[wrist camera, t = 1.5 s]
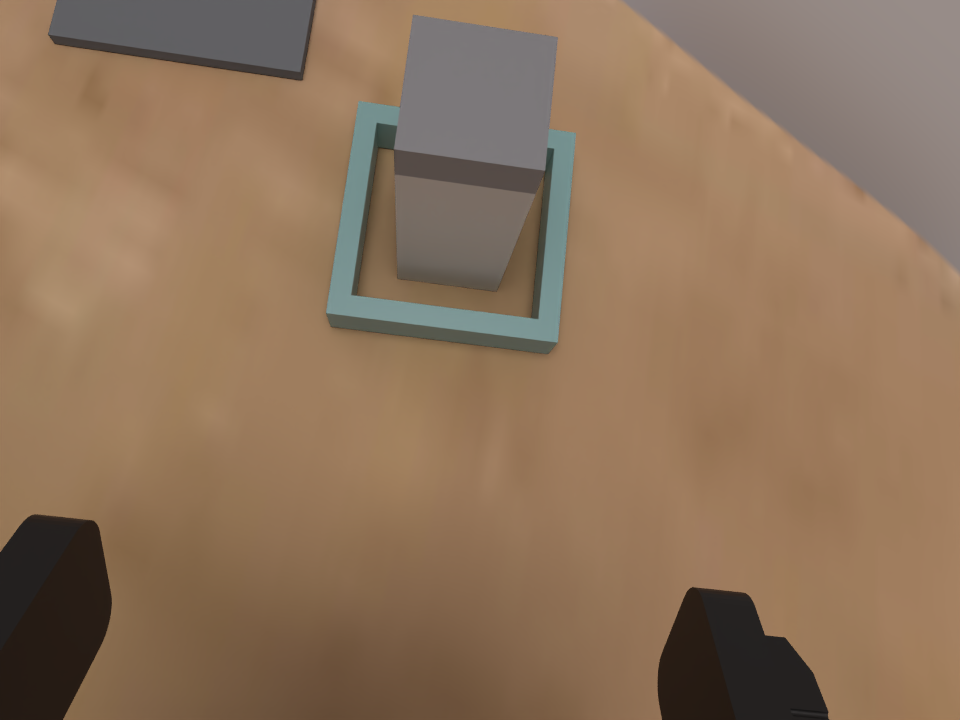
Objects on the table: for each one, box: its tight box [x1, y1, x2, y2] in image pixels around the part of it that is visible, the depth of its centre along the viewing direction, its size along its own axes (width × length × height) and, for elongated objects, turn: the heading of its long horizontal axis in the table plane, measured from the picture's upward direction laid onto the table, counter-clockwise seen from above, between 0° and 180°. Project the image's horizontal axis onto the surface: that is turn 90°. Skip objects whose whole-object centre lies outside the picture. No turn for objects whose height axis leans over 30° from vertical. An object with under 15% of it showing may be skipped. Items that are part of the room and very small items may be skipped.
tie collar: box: [326, 101, 576, 354], centre depth 30 cm, size 9×9×2 cm
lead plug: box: [394, 15, 558, 292], centre depth 26 cm, size 4×4×11 cm
